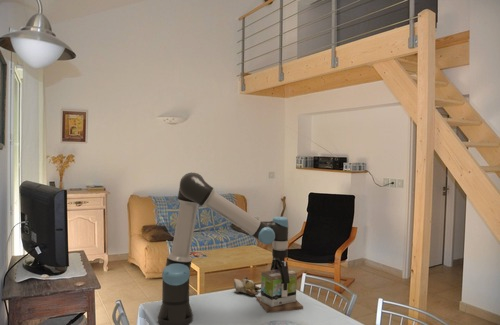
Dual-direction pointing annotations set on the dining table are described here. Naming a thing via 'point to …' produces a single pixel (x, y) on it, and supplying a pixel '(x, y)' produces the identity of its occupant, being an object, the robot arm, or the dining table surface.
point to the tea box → (277, 288)
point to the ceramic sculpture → (246, 286)
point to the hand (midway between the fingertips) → (279, 291)
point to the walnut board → (280, 306)
